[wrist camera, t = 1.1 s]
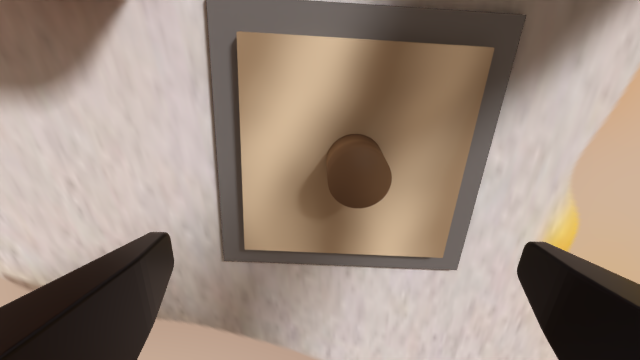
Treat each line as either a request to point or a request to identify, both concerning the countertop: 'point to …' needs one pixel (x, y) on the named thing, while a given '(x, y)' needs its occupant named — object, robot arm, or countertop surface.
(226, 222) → the mat
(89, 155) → the countertop surface
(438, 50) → the lid
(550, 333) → the robot arm
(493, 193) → the countertop surface
